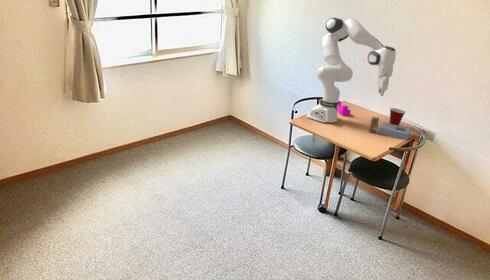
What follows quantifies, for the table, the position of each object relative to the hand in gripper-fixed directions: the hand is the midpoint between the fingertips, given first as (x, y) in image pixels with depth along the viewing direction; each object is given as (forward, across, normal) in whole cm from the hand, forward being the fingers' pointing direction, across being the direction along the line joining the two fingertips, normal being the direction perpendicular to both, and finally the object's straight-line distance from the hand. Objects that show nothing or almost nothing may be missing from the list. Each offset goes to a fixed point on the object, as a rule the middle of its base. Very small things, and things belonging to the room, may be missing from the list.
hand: (380, 94), depth 252 cm
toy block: (+25, +37, +20) cm, 49 cm away
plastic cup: (+26, +20, -17) cm, 37 cm away
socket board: (+26, +2, -14) cm, 30 cm away
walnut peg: (+26, -1, +1) cm, 26 cm away
